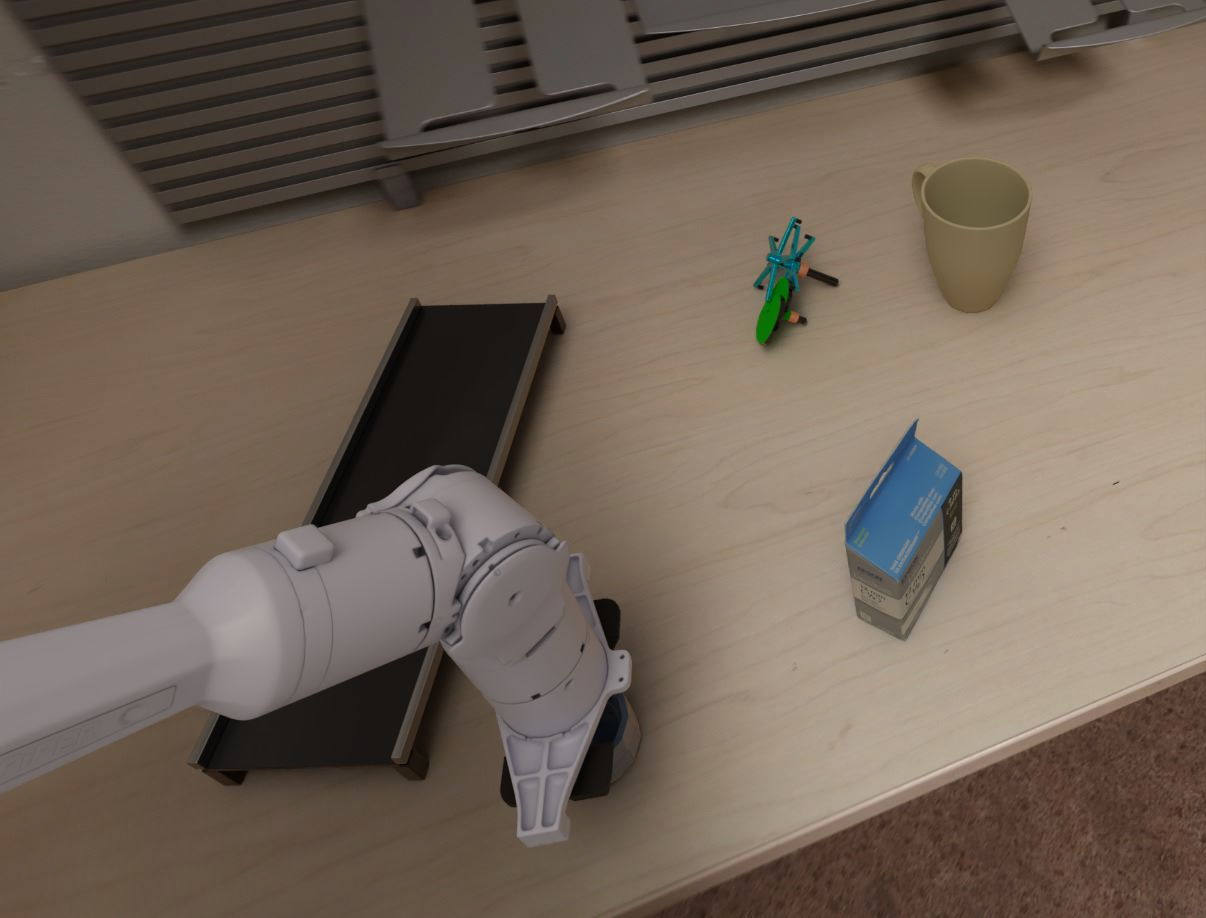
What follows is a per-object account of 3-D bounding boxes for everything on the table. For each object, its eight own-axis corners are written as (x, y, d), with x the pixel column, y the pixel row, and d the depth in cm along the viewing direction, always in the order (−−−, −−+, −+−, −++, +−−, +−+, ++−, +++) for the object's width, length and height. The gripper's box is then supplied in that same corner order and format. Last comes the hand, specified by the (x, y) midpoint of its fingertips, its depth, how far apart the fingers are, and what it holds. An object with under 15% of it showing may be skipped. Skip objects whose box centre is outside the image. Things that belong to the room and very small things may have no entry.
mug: (1029, 259, 87) (1041, 158, 79) (1012, 339, 80) (1023, 237, 72) (915, 240, 89) (914, 139, 81) (888, 316, 82) (885, 215, 74)
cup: (596, 811, 55) (578, 790, 52) (540, 757, 57) (521, 734, 54) (658, 736, 58) (645, 712, 55) (604, 688, 60) (588, 662, 57)
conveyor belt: (426, 780, 56) (400, 758, 53) (222, 785, 56) (185, 763, 53) (567, 325, 82) (555, 294, 79) (428, 328, 82) (410, 297, 79)
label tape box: (904, 645, 62) (901, 554, 53) (851, 615, 63) (840, 522, 54) (963, 536, 67) (970, 438, 58) (913, 512, 69) (912, 412, 60)
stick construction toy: (756, 232, 87) (795, 199, 81) (822, 258, 90) (864, 228, 84) (731, 352, 81) (771, 326, 75) (802, 375, 84) (846, 352, 78)
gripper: (600, 789, 42) (659, 866, 52) (618, 504, 53) (664, 612, 62) (438, 818, 41) (527, 891, 51) (488, 524, 52) (554, 630, 61)
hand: (594, 739), depth 56 cm, fingers closed on cup, 5 cm apart
